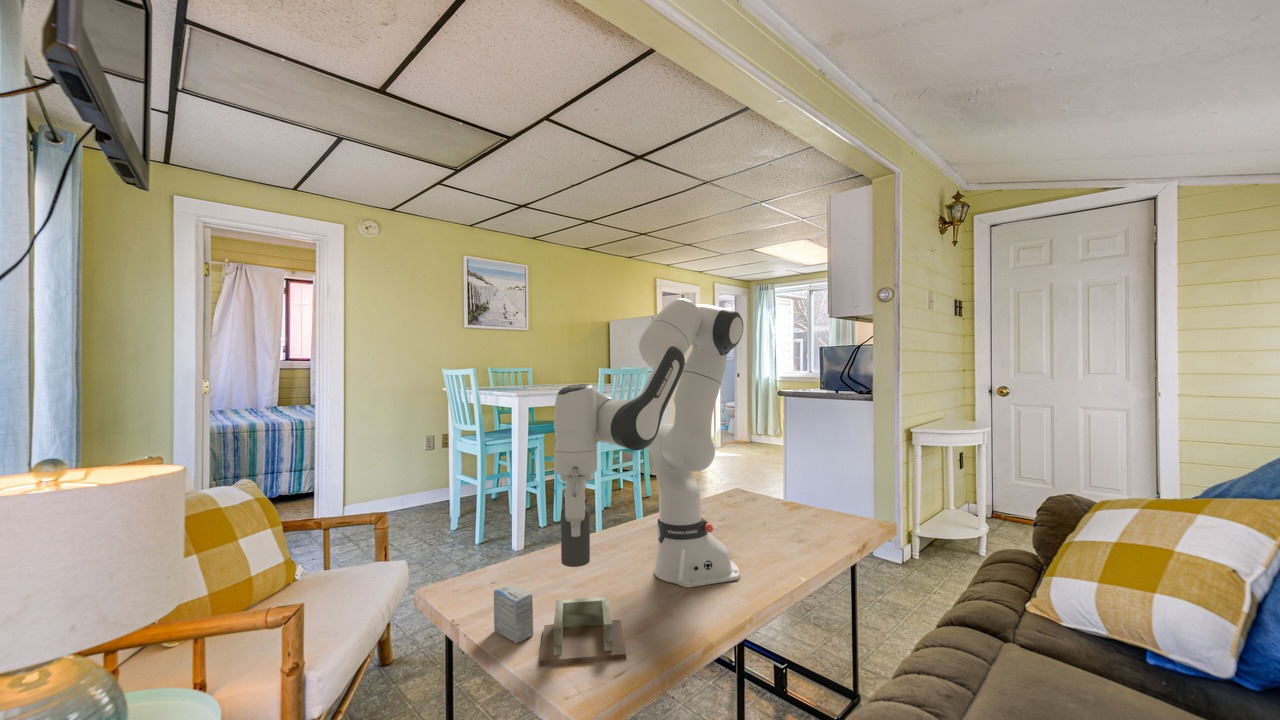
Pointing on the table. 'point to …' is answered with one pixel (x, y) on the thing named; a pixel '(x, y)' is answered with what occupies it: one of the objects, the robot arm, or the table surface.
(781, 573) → the table surface
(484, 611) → the table surface
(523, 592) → the medicine box
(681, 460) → the robot arm
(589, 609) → the u rest
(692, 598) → the table surface
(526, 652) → the table surface
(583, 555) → the bottle
